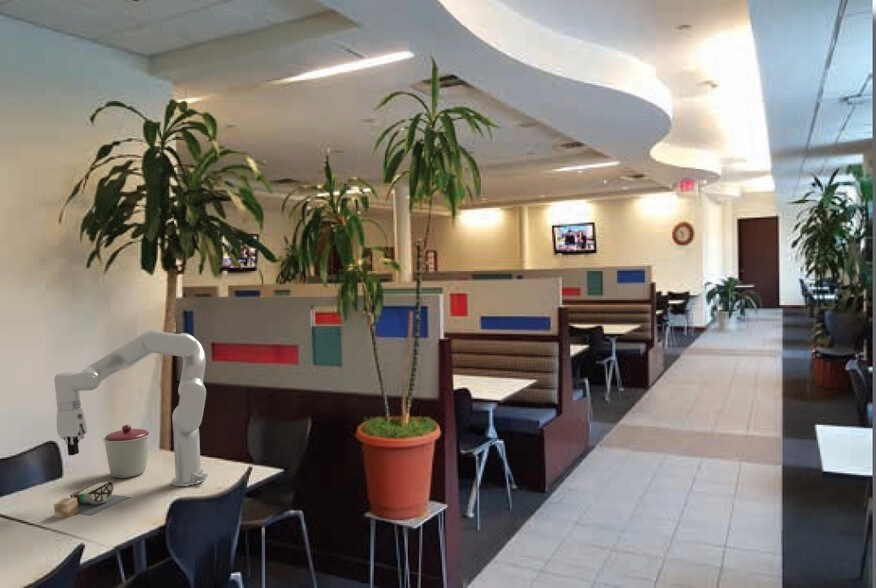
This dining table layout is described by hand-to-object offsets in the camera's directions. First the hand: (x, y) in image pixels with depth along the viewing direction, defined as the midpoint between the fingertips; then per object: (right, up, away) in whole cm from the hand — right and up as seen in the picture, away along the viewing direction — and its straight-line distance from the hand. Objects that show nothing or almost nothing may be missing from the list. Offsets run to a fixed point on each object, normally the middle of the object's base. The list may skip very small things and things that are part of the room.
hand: (73, 454), depth 235 cm
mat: (+12, -18, -4) cm, 22 cm away
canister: (+5, -17, +31) cm, 36 cm away
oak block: (+5, -18, -13) cm, 23 cm away
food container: (+4, -16, -1) cm, 16 cm away
